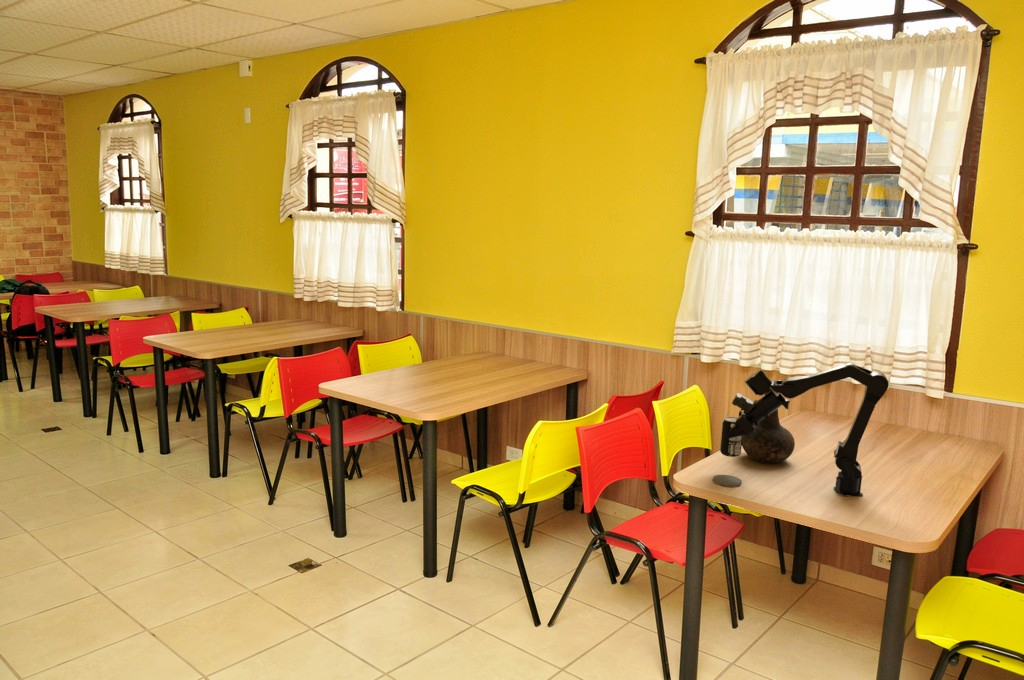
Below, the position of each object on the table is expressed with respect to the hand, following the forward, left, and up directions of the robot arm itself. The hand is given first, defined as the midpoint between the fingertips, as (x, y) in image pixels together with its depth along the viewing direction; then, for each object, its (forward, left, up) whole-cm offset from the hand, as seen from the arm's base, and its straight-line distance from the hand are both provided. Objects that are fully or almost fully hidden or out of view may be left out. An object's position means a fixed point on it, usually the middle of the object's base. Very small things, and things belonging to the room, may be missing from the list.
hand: (727, 434), depth 254 cm
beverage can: (-1, +1, -7) cm, 7 cm away
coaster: (+2, +8, -13) cm, 16 cm away
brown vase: (-21, -14, -13) cm, 28 cm away
